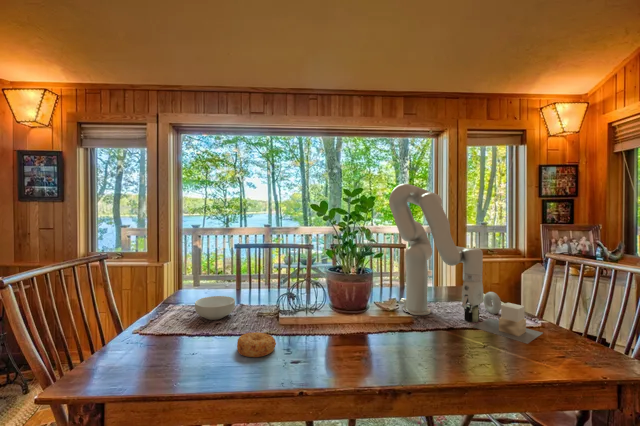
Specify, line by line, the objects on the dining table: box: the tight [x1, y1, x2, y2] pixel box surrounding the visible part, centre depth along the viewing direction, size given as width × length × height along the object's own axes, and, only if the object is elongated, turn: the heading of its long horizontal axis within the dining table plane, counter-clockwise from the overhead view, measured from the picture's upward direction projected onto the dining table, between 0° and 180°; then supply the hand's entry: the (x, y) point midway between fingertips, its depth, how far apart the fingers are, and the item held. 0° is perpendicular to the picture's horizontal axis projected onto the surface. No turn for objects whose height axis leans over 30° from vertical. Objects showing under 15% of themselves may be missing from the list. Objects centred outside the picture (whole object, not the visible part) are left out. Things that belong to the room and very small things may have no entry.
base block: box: [498, 316, 527, 336], centre depth 125 cm, size 7×7×5 cm
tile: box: [471, 318, 544, 345], centre depth 127 cm, size 20×16×1 cm
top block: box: [500, 302, 525, 322], centre depth 125 cm, size 6×6×5 cm
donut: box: [483, 291, 502, 315], centre depth 148 cm, size 10×3×10 cm, turn 7°
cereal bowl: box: [194, 295, 236, 321], centre depth 141 cm, size 17×17×7 cm
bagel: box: [236, 331, 277, 358], centre depth 109 cm, size 13×14×5 cm
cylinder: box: [467, 305, 479, 323], centre depth 138 cm, size 5×5×6 cm
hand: (471, 319), depth 138 cm, fingers closed on cylinder, 5 cm apart
